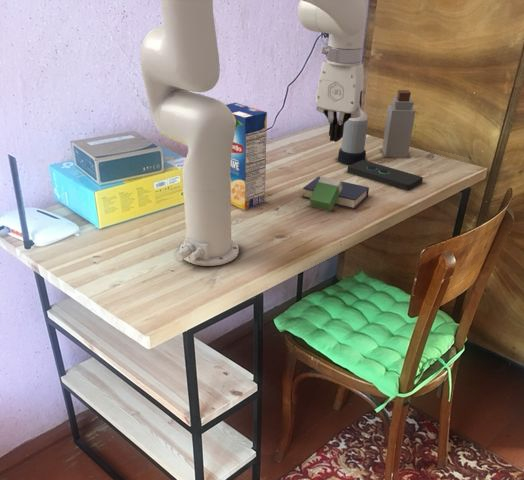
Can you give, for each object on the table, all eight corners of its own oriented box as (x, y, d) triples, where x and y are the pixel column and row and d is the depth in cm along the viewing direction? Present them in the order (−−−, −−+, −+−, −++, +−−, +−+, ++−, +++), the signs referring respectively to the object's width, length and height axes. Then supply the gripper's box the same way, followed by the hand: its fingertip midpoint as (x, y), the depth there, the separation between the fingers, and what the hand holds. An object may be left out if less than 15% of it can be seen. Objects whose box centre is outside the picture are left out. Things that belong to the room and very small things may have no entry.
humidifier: (346, 153, 179) (355, 64, 164) (370, 159, 175) (381, 69, 160) (332, 161, 174) (341, 69, 159) (357, 167, 170) (368, 74, 155)
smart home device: (362, 158, 171) (424, 176, 160) (362, 164, 172) (422, 182, 161) (346, 166, 165) (408, 184, 155) (345, 172, 167) (407, 191, 156)
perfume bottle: (407, 157, 177) (418, 94, 167) (385, 157, 177) (394, 94, 167) (403, 150, 183) (413, 88, 172) (382, 149, 183) (390, 88, 172)
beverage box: (245, 210, 144) (245, 117, 131) (215, 197, 150) (213, 107, 137) (264, 202, 148) (267, 112, 135) (235, 190, 154) (235, 102, 141)
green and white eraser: (331, 211, 145) (329, 203, 142) (311, 206, 147) (309, 199, 144) (342, 187, 147) (340, 180, 144) (322, 183, 149) (320, 176, 146)
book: (354, 209, 146) (355, 199, 144) (302, 197, 151) (303, 187, 150) (367, 196, 152) (369, 187, 151) (317, 185, 158) (318, 176, 156)
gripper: (306, 54, 129) (300, 138, 140) (370, 62, 124) (358, 149, 135) (320, 49, 135) (313, 131, 146) (382, 57, 129) (370, 141, 140)
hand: (335, 139), depth 140 cm, fingers closed
